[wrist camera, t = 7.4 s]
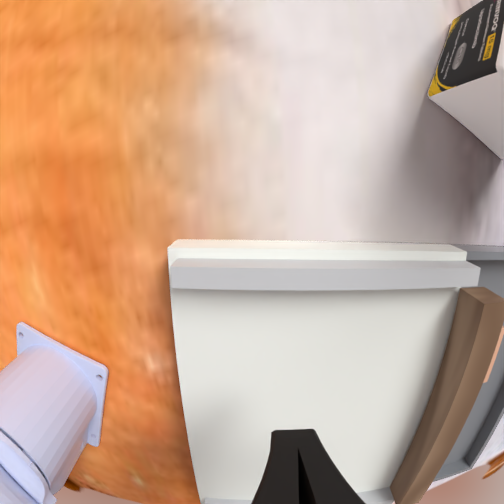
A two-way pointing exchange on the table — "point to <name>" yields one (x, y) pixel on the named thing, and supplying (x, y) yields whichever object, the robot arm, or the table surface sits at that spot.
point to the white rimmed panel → (308, 352)
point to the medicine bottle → (474, 73)
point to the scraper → (452, 391)
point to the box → (498, 384)
